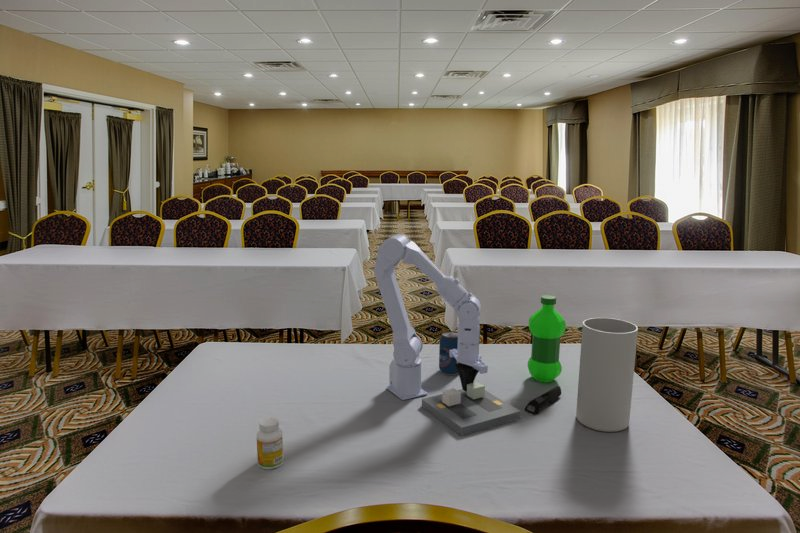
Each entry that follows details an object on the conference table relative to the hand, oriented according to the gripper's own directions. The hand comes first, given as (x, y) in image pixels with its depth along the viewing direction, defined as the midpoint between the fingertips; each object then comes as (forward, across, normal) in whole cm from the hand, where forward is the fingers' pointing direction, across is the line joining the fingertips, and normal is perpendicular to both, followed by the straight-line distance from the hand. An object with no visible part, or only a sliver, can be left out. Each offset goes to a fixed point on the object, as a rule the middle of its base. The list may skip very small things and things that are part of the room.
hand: (467, 389), depth 154 cm
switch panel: (+3, -7, +4) cm, 8 cm away
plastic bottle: (+3, 0, -28) cm, 28 cm away
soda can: (+3, +18, -7) cm, 20 cm away
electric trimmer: (+3, -12, -16) cm, 21 cm away
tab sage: (0, -4, 0) cm, 4 cm away
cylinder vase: (+3, -27, -22) cm, 35 cm away
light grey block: (0, -4, +8) cm, 9 cm away
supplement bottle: (+3, -6, +56) cm, 56 cm away
